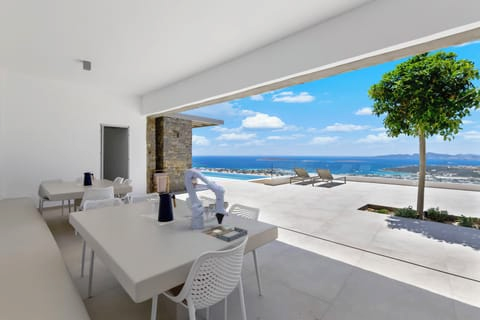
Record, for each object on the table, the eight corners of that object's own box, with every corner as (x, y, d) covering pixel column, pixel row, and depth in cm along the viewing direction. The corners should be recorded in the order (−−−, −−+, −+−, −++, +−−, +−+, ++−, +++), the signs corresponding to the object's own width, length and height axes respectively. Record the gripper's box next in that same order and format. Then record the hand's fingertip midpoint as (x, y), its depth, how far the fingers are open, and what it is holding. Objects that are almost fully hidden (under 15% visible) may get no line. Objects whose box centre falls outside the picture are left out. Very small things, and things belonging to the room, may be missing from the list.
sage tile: (222, 230, 158) (222, 227, 158) (226, 229, 162) (226, 226, 162) (226, 232, 155) (227, 229, 155) (231, 230, 159) (231, 227, 159)
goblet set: (207, 223, 178) (207, 206, 178) (202, 222, 181) (202, 205, 181) (229, 215, 201) (229, 200, 200) (224, 214, 204) (224, 200, 204)
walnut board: (200, 233, 155) (200, 232, 155) (219, 227, 169) (219, 225, 169) (216, 239, 145) (216, 237, 145) (235, 231, 159) (235, 230, 159)
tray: (216, 239, 145) (216, 233, 145) (235, 231, 159) (235, 226, 159) (228, 243, 138) (228, 237, 138) (247, 235, 152) (247, 230, 152)
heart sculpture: (203, 219, 190) (203, 197, 189) (199, 220, 186) (199, 198, 185) (189, 216, 198) (189, 195, 197) (185, 217, 193) (185, 196, 193)
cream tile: (212, 234, 151) (212, 231, 151) (217, 232, 155) (217, 229, 155) (217, 235, 148) (217, 232, 148) (222, 233, 152) (222, 230, 152)
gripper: (231, 205, 161) (231, 224, 161) (216, 202, 170) (217, 220, 171) (224, 207, 155) (224, 226, 156) (209, 204, 165) (209, 222, 165)
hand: (219, 223), depth 163 cm, fingers closed
